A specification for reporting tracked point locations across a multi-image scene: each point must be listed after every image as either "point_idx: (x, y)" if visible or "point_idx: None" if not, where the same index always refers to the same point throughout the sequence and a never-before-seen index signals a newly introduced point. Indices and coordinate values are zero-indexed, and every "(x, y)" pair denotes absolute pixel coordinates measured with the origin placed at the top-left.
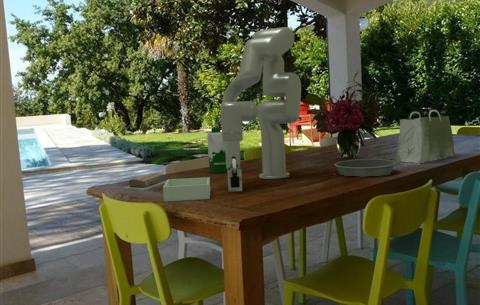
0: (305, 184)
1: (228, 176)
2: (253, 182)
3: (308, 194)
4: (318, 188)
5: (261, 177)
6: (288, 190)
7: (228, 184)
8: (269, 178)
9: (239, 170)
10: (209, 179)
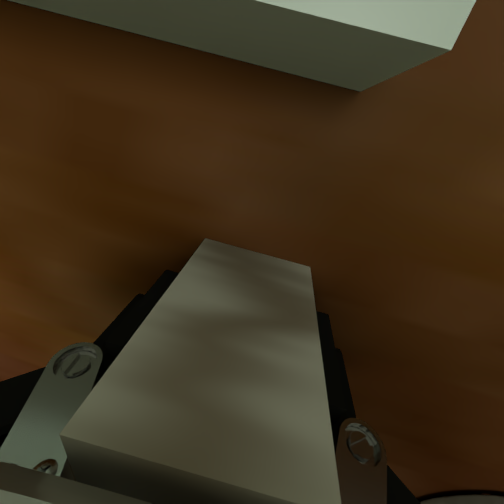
0: None
1: (138, 336)
2: (424, 437)
3: None
4: None
5: (500, 501)
6: None
7: (182, 271)
8: (433, 501)
9: None
10: (230, 2)
